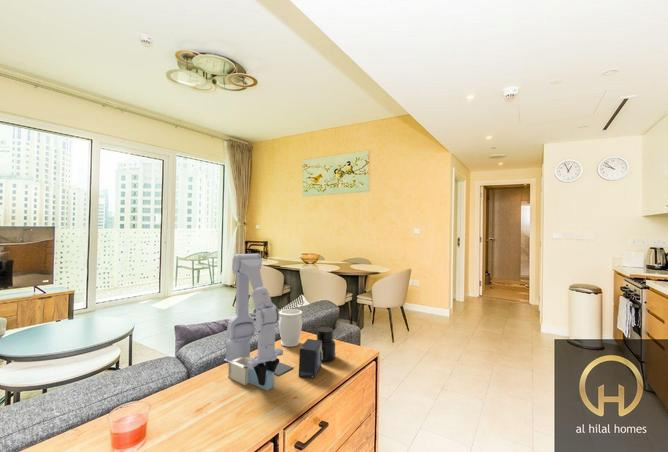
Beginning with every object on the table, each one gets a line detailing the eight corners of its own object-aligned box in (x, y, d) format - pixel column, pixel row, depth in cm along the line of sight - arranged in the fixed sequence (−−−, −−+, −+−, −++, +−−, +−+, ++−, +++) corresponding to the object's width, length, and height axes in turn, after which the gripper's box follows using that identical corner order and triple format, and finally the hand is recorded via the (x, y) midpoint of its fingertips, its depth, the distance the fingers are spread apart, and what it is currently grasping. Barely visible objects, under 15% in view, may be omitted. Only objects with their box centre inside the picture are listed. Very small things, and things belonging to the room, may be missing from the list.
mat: (252, 365, 124) (252, 364, 124) (267, 358, 130) (267, 357, 130) (278, 376, 116) (278, 375, 116) (293, 368, 122) (293, 367, 122)
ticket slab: (247, 381, 111) (247, 367, 111) (253, 378, 114) (253, 364, 114) (267, 390, 105) (267, 375, 105) (273, 386, 108) (274, 372, 108)
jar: (275, 347, 143) (276, 313, 143) (282, 339, 153) (283, 307, 153) (298, 349, 141) (298, 315, 141) (304, 340, 152) (304, 309, 151)
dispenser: (228, 377, 114) (228, 360, 114) (243, 370, 120) (244, 353, 120) (245, 385, 109) (245, 367, 109) (260, 377, 114) (260, 360, 114)
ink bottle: (312, 354, 136) (312, 326, 136) (332, 352, 138) (332, 325, 138) (316, 364, 127) (316, 333, 127) (337, 362, 129) (338, 332, 129)
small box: (315, 379, 114) (315, 350, 114) (297, 377, 115) (298, 348, 115) (322, 366, 124) (322, 339, 124) (306, 364, 126) (306, 338, 126)
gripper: (258, 352, 100) (257, 395, 100) (289, 339, 112) (288, 377, 112) (243, 346, 104) (242, 388, 104) (275, 334, 116) (274, 372, 116)
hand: (265, 382), depth 108 cm, fingers closed on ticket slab, 3 cm apart
